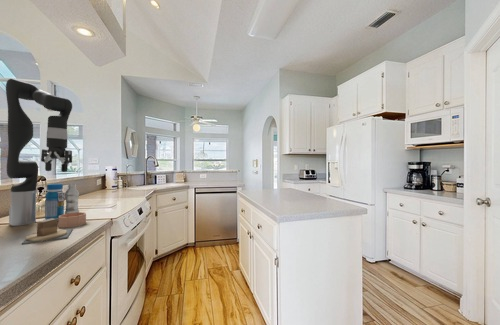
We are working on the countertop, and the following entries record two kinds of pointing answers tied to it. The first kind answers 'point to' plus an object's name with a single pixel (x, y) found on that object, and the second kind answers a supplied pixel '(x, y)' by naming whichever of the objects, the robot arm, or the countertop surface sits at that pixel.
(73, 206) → the plastic bottle
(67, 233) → the charcoal mat
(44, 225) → the oak lid
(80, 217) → the terracotta bowl
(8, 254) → the countertop surface
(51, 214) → the beverage bottle
